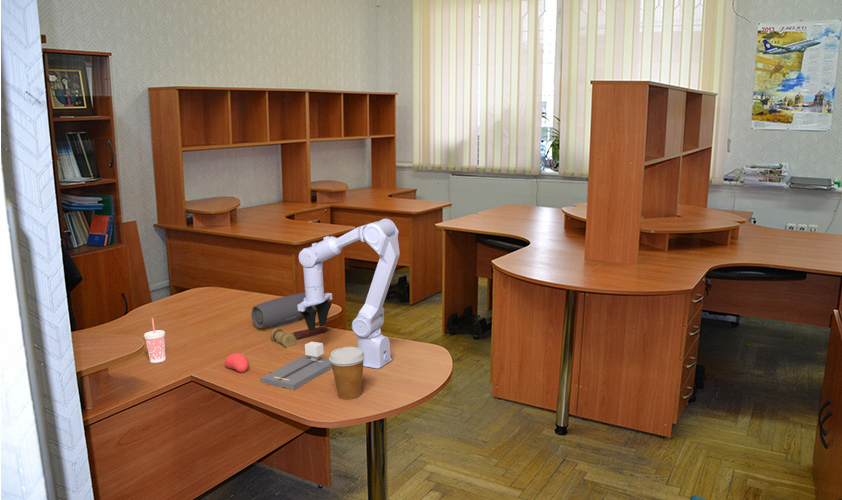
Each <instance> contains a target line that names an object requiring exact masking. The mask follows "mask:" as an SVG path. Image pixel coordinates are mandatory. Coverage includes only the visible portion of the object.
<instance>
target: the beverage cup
mask: <svg viewBox="0 0 842 500" xmlns="http://www.w3.org/2000/svg"><path fill="white" fill-rule="evenodd" d="M151 324H152V330H151V331H150V330H149V331H148V332H144V334H143V337H144V339H145V343H146V347H147V352H148V357H149V362H150V363H153V364H154V363H160V362H161V363H163V362H164V361H166V345H165V344H166V343H165V341H166V340H165V335H166V332H165V330H161V329H160V330H159V329H158V330H157V329H155V322H154V317H151Z"/></svg>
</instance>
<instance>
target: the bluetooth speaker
mask: <svg viewBox="0 0 842 500" xmlns="http://www.w3.org/2000/svg"><path fill="white" fill-rule="evenodd" d="M304 298H306V295H305V291H303V292H299V293H294V294H289V295H285V296H281V297H278V298H274V299H271V300H268V301H267V300H266V301H264V302H262V303H258V304H256V305H253V307H252V308H251V313H250V316H251V320H252V323H253V324H254V326H255V327H256V328H257V329H264V328H269V327H274V328H280V327H284V326H287V325H289V324H290V325H291V324H293V323H296V322H298V321H299V319H300V318H304V317H303V315H302V314H301V313H300V311H298V304H300V303H302V302H303V301H304ZM312 308H313V309H316V307H315V306H313V307H312Z"/></svg>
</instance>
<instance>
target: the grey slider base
mask: <svg viewBox="0 0 842 500" xmlns="http://www.w3.org/2000/svg"><path fill="white" fill-rule="evenodd" d="M331 369H332V364H331V362H330V360H329V358H327V357H321V356H319V359H318V360H317V361H312V360H311V356H309V355H305V354H304V355H302V356H301V357H299V358H296V359H295V360H293V361H291V362H289V363H287V364H285V365H283V366H282V367H279V368H277V369H275V370H273V371H271V372H270V373H267V374H266V375H264V376H262V377H260V381H261V382H263V383H262V384H264V383H267V384H266V385H269V384H271V386H273V385H276V386H275V387H278V386H281V387H280V388H282V387H285V388H284V389H287V388H289V390H291V389H295V390H296V388H297V387H298V388H300V387H302V386H304V385H305V384H307V383H309V382H311V381H312V380H314V379H315V378H317V377H319V376H321V375H323V374H324V373H326V372H328V371H330V370H331ZM308 381H309V382H308ZM301 385H302V386H301ZM299 386H300V387H299ZM298 388H297V389H298Z"/></svg>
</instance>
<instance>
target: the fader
mask: <svg viewBox="0 0 842 500" xmlns="http://www.w3.org/2000/svg"><path fill="white" fill-rule="evenodd" d="M304 352H305V354H304V355H309V356H311V360H312V361H317V360H318V359H319V357H321V356H322V355H324V343H323V342H317V341H310V342H308V343H305V344H304Z"/></svg>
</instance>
